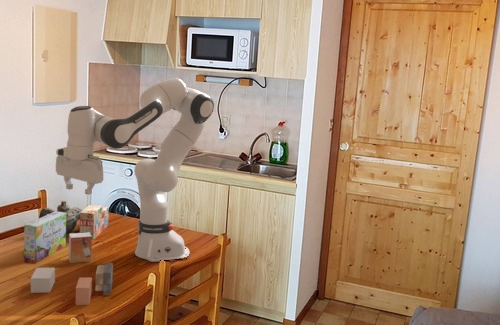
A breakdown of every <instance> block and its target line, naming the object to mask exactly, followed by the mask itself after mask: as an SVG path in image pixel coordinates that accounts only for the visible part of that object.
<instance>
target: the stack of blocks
mask: <svg viewBox="0 0 500 325" xmlns="http://www.w3.org/2000/svg"><path fill="white" fill-rule="evenodd" d="M109 218H110V217H109V206H103V205H96V204H95V205H94V204H89V205H87V207H85V208H83V209H82V211H81V212H80V220H79V233H87V232H90V234H91V236H92V240H95V239H96V238H97V237H98V236H99V235H100V234H101V233H102V232H103V231H104V230H105V229H106V228H107V227H109Z"/></svg>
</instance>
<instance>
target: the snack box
mask: <svg viewBox="0 0 500 325" xmlns="http://www.w3.org/2000/svg"><path fill="white" fill-rule="evenodd" d="M54 211H55V212H53V213H51V214H47V215H46V216H44V217H41V218H39V217H38V218H37V219H34V220H33V221H30V222H28V223H26V224H25V223H24V226H23V227H24V228H23V229H24V230H23V231H24V234H23V235H24V236H23V239H24V240H23V241H24V242H23V262H24V263H25V262H26V263H31V264H37V263H39V262H41V260H44V259H45V258H48V257H49V256H51V255H52V254H54V253H56V252H58V251H60V250H62V249H63V248H65V247H66V243H67V242H66V239H67V234H66V213H64V212H57V210H54Z"/></svg>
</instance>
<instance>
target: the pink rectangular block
mask: <svg viewBox="0 0 500 325" xmlns="http://www.w3.org/2000/svg"><path fill="white" fill-rule="evenodd" d="M92 284H93V277H78V280H77V283H76V286H75V306H89V305H90V302H91V299H92V292H93V285H92Z"/></svg>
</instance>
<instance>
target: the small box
mask: <svg viewBox="0 0 500 325" xmlns="http://www.w3.org/2000/svg"><path fill="white" fill-rule="evenodd" d="M68 234H69V235H68V260H69V264H76V263H89V262H92V246H93V244H92V243H93V242H92V236H91V234H90V232H87V233H80V232H77V233H73V232H71V233H68Z"/></svg>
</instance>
